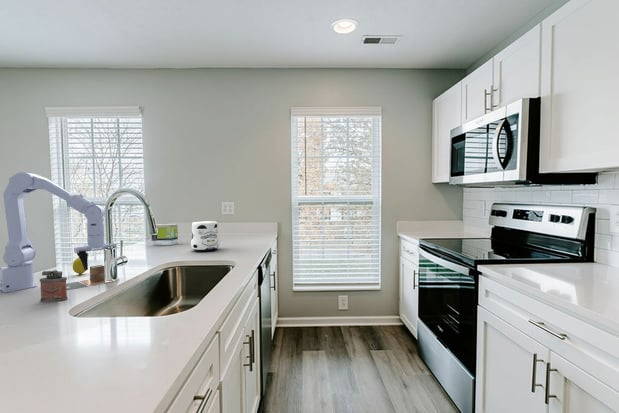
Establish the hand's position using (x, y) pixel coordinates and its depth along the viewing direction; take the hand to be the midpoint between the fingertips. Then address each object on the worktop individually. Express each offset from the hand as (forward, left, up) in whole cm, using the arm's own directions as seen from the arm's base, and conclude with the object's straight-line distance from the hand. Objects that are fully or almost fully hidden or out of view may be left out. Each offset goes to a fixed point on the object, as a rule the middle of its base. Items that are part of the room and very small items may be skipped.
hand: (96, 268), depth 131 cm
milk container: (+71, +31, -6) cm, 78 cm away
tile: (0, 0, -6) cm, 6 cm away
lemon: (0, +20, -6) cm, 21 cm away
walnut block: (0, 0, -5) cm, 5 cm away
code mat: (-11, 0, -6) cm, 12 cm away
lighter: (-18, -16, -6) cm, 25 cm away
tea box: (+70, +80, -6) cm, 106 cm away
